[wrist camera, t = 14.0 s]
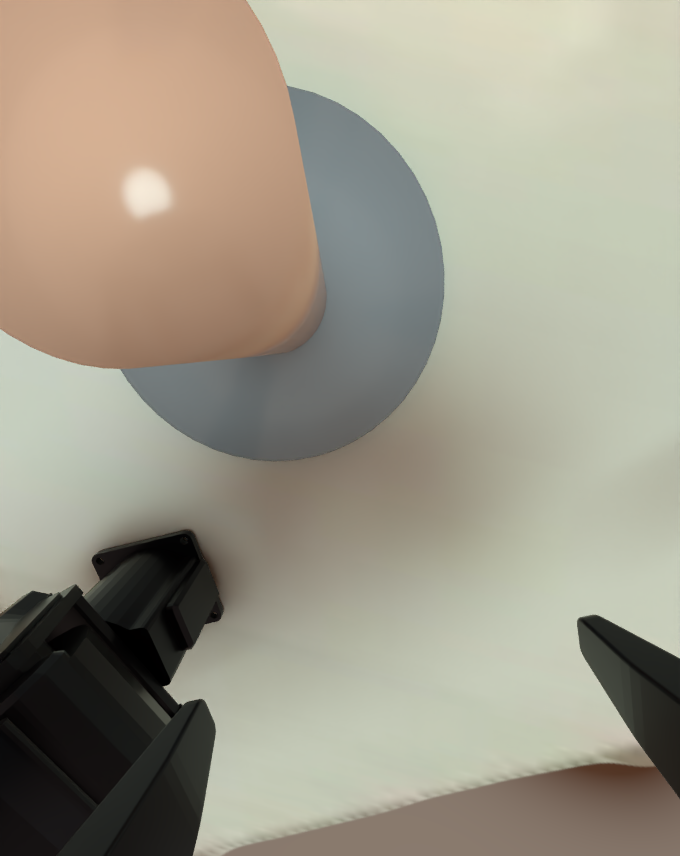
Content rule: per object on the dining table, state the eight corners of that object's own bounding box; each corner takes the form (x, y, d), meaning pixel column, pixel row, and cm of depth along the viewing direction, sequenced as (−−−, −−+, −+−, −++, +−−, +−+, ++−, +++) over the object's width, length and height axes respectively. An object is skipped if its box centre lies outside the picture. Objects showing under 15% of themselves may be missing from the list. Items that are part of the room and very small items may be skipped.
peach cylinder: (209, 349, 18) (-85, 350, 6) (210, 224, 17) (-170, -145, 4) (321, 360, 18) (286, 385, 6) (331, 237, 17) (314, -82, 4)
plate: (173, 488, 21) (167, 493, 20) (42, 156, 17) (28, 147, 16) (466, 414, 20) (471, 417, 19) (400, 46, 16) (403, 30, 15)
